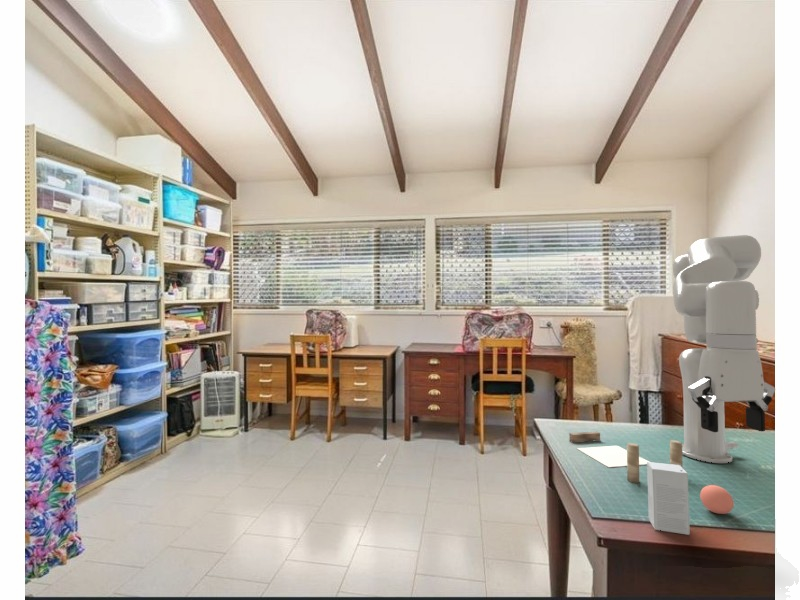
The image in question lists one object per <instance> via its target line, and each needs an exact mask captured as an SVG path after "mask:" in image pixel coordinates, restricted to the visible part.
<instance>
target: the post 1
mask: <svg viewBox="0 0 800 600" xmlns="http://www.w3.org/2000/svg"><path fill="white" fill-rule="evenodd" d="M626 450H627V466H626V470H627V472H626V473H627V474H626V476H627V477H626V478H627V479H626V480H627V481H628V482H630V483H633V484H639V483H640V465H639V457H640V446H639V445H638V444H636V443H632V442H628V443H626Z"/></svg>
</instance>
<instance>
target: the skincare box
mask: <svg viewBox="0 0 800 600" xmlns="http://www.w3.org/2000/svg"><path fill="white" fill-rule="evenodd" d="M646 470H647V471H646V473H647V474H646V475H647V477H646V478H647V498H648V499H647V502H648V503H647V504H648V505H647V507H648V520H649V522H650V524H651V525H652V527H653V528H654V529H653V530H655V531H660V530H661V531H662V532H667V533H674V534H675V533H676V534H681V535H686V536H690V535H691V534H690V533H691V530H690V526H691V525H690V499H689V497H690V494H689V473H688V472H687V471H686V470H685V469H684V467H683V468H682V467H681V466H680V465H673V464H670V463H661V462H652V461H649V462H647V465H646Z"/></svg>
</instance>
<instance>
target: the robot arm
mask: <svg viewBox="0 0 800 600" xmlns="http://www.w3.org/2000/svg"><path fill="white" fill-rule="evenodd" d="M761 258H762V248H761V245H760V242H759V241H758V240H757V238H755V237H754V236H752V235H747V234H743V235H728V236H717V237H716V236H715V237H705V238H701V239H698V240H696V241H695V242H693V243H692V244H691V245H690V246H689V248H688V250H687V254H683V255H680V256H678V257H676V258H675V259H674V260H673V263H672V273H673V276H674V277H673V278H674V281H673V284H672V295H673V303H674V304H673V305H674V308H675V310H676V312H677V313H678V314H679V315H681V316H683V329H684V335H685V336H684V337H685V338H686V340H688V341H689V342H690V343H694V344H701V345H706V348H696V347H695V348H689V349H684V350H683V351H681V353H680V354H679V357H678V363H679V364H678V365H679V369H680V370H679V371H680V375H681V381H682V393H683V394H682V395H683V443H682V456H685V457H687V458H690V459H693V460H696V459H697V460H698V461H700V460H701V461H700V462H705V461H706V463H711V462H712V463H713V464H729V463H731V462H733V456H732V454H730V453H729V450H737V449H738V448H739V445H738V443H737V442H736V441H727V440H726V433H725V432H726V427H725V426H726V425H725V423H726V421H725V419H726V418H725V416H726V415H725V403H731V402H732V403H733V402H734V403H737V402H738V403H739V402H742V403H743V402H745V403H746V404H747V405H748V406H746V407H745V426H746V427H747V428H748V429H752V430H755V431H759V432H765V431H766V415H765V413H766V411H768V409H769V406H768V405H770V404H771V402H772V401H773V396H774V394H775V392H776V388H775V387H774V386H773V385H772V384H769V383H768V382H766V381H765V380H764V371H763V366H762V365H763V364H762V360H761V356H760V353H759V351H758V349H757V344H758V343H759V339H758V338H757V316H756V314H757V312H756V311H757V310H758V308H759V305H760V297H759V295H760V294H759V292H758V290H756V287H755V285H754V284H753V283H752V282H750V281H747V279H748V278H750V276H751V275H752V273H753V272H754V270H755V269H756V268H757V267H758V265H759V263H760V261H761ZM728 462H729V463H728ZM712 463H711V464H712Z"/></svg>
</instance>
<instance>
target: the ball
mask: <svg viewBox="0 0 800 600" xmlns="http://www.w3.org/2000/svg"><path fill="white" fill-rule="evenodd" d="M699 493H700V494H699V497H700V501H701V503H702V504H703V505H704V507H705V508H706V509H707V510H709V511H710V512H712V513H715V514H719V515H724V514H725V515H726V514H728V513H730V512H731V511H733V508H734V504H735V502H734V500H733V497H732V495H731V494H730V493H729V491H728V490H726V489H725V488H723V487H721V486H719V485H714V484H709V485H708V484H707V485H706V486H704V487H702V489H701V490H700V492H699Z"/></svg>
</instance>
